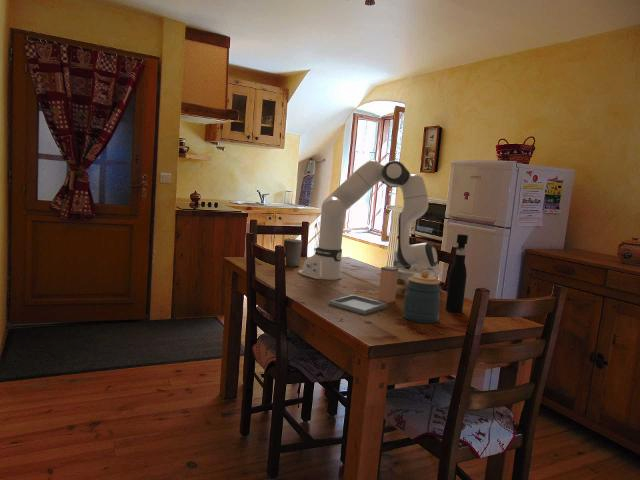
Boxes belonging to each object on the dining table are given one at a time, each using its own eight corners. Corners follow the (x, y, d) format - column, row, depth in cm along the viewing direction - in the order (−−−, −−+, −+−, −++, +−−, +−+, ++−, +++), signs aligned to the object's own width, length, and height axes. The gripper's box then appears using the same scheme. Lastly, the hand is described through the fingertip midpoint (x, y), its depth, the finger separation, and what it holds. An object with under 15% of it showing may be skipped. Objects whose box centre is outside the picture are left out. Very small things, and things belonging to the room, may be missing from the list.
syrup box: (402, 277, 244) (405, 249, 242) (403, 280, 238) (406, 251, 236) (391, 276, 244) (394, 248, 242) (392, 278, 238) (394, 250, 237)
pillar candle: (279, 265, 249) (282, 237, 247) (284, 262, 259) (286, 235, 257) (298, 268, 248) (300, 239, 246) (301, 264, 257) (304, 237, 255)
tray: (328, 305, 179) (329, 300, 179) (352, 298, 192) (353, 294, 192) (364, 315, 170) (364, 310, 169) (386, 307, 182) (387, 303, 182)
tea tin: (377, 300, 193) (381, 267, 191) (384, 298, 197) (387, 266, 196) (388, 302, 190) (392, 269, 188) (395, 300, 194) (398, 268, 192)
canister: (415, 324, 163) (421, 274, 161) (395, 313, 175) (399, 266, 172) (446, 322, 168) (451, 274, 166) (424, 312, 180) (429, 266, 178)
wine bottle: (459, 314, 181) (468, 236, 177) (443, 310, 184) (451, 234, 181) (464, 311, 187) (473, 235, 183) (448, 307, 190) (456, 233, 186)
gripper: (398, 263, 219) (383, 266, 208) (440, 271, 207) (426, 274, 196) (397, 276, 220) (382, 280, 209) (438, 285, 207) (424, 289, 196)
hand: (403, 277), depth 202 cm, fingers open, 8 cm apart
